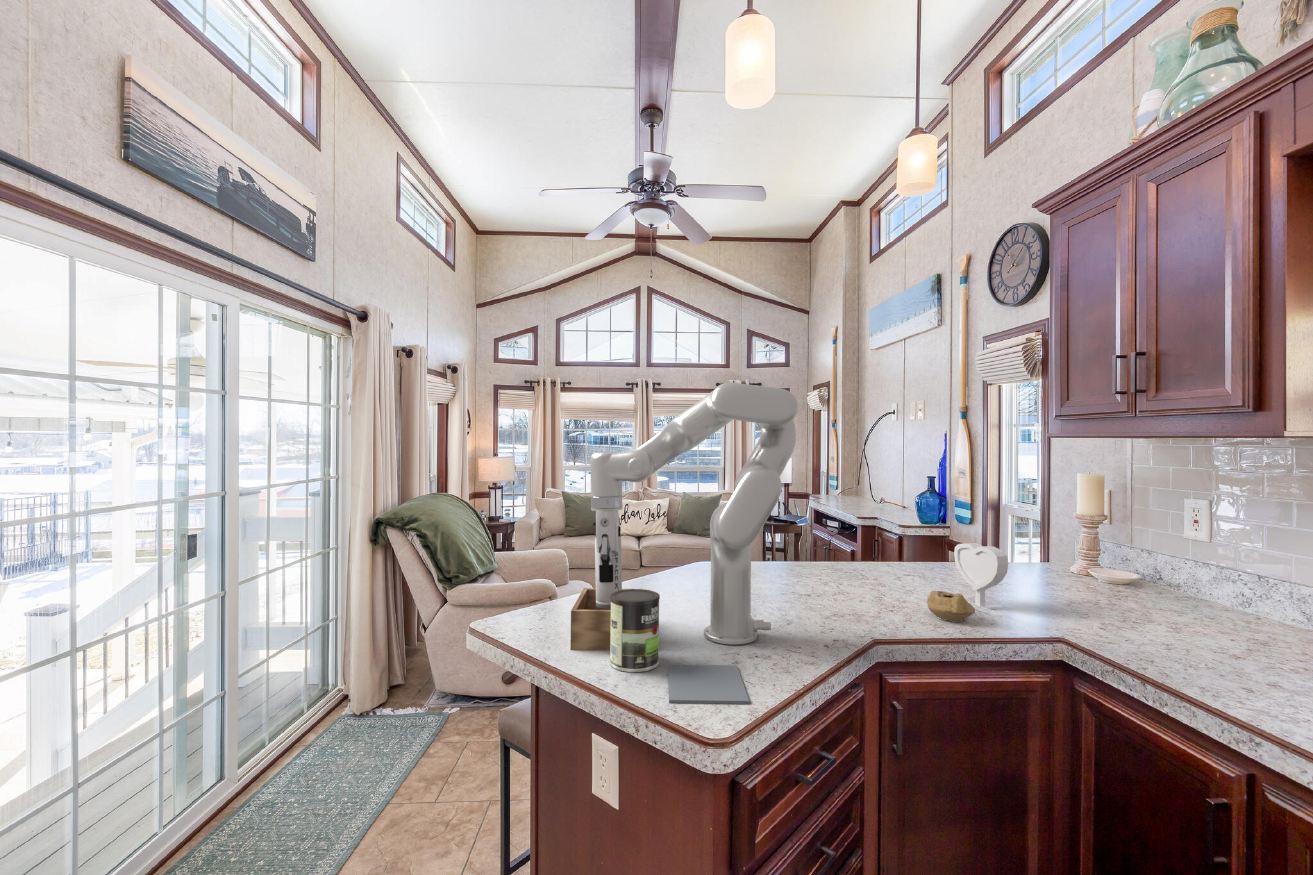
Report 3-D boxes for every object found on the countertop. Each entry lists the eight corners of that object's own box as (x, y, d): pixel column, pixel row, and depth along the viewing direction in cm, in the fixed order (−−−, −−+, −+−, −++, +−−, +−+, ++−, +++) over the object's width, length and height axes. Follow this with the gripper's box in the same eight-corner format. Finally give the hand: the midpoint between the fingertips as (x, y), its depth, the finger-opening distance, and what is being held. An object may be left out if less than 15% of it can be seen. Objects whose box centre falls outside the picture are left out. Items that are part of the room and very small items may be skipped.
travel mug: (594, 603, 135) (593, 520, 135) (621, 601, 135) (620, 520, 136) (594, 610, 128) (592, 524, 129) (622, 609, 129) (621, 523, 129)
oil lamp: (944, 608, 156) (944, 580, 156) (986, 625, 142) (986, 594, 142) (910, 611, 154) (910, 582, 154) (949, 628, 139) (949, 596, 139)
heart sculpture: (952, 601, 163) (951, 540, 164) (966, 600, 165) (966, 540, 165) (995, 617, 148) (995, 550, 149) (1010, 616, 150) (1010, 549, 150)
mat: (736, 667, 112) (736, 665, 112) (749, 703, 96) (749, 700, 96) (668, 666, 113) (668, 664, 113) (669, 702, 97) (669, 699, 97)
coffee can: (668, 660, 116) (668, 592, 117) (641, 676, 108) (641, 604, 108) (628, 650, 122) (628, 586, 122) (599, 665, 113) (600, 596, 113)
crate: (634, 622, 142) (634, 588, 142) (629, 650, 122) (629, 611, 122) (583, 621, 142) (583, 588, 142) (570, 649, 122) (570, 610, 122)
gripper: (619, 506, 124) (620, 587, 123) (624, 499, 141) (626, 570, 141) (586, 507, 124) (587, 587, 123) (595, 500, 141) (596, 571, 141)
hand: (607, 577), depth 132 cm, fingers closed on travel mug, 6 cm apart
